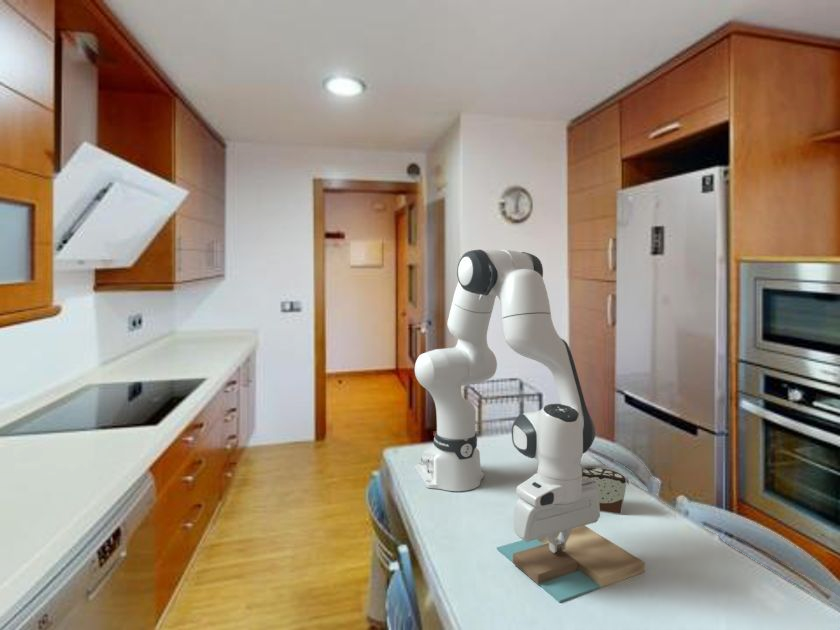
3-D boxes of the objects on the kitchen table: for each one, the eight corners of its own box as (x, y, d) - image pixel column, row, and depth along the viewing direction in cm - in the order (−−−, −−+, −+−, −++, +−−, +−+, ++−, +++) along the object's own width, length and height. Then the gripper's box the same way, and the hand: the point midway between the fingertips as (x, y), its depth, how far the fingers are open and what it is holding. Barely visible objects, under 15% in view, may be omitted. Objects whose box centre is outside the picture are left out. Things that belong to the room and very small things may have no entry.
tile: (512, 563, 105) (513, 553, 104) (550, 551, 109) (550, 542, 109) (538, 584, 98) (538, 574, 97) (577, 570, 102) (577, 561, 102)
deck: (533, 538, 115) (533, 530, 115) (573, 527, 120) (574, 519, 120) (600, 587, 97) (600, 577, 97) (644, 571, 102) (644, 562, 102)
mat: (496, 549, 111) (496, 547, 111) (533, 538, 115) (533, 537, 115) (559, 602, 93) (559, 600, 93) (600, 587, 97) (600, 585, 97)
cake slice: (626, 505, 132) (627, 467, 131) (627, 515, 126) (629, 476, 125) (576, 498, 136) (577, 461, 135) (576, 508, 130) (577, 470, 129)
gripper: (586, 471, 111) (584, 531, 112) (509, 488, 102) (508, 554, 103) (608, 481, 106) (606, 545, 107) (529, 501, 97) (528, 570, 98)
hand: (557, 550), depth 105 cm, fingers closed
